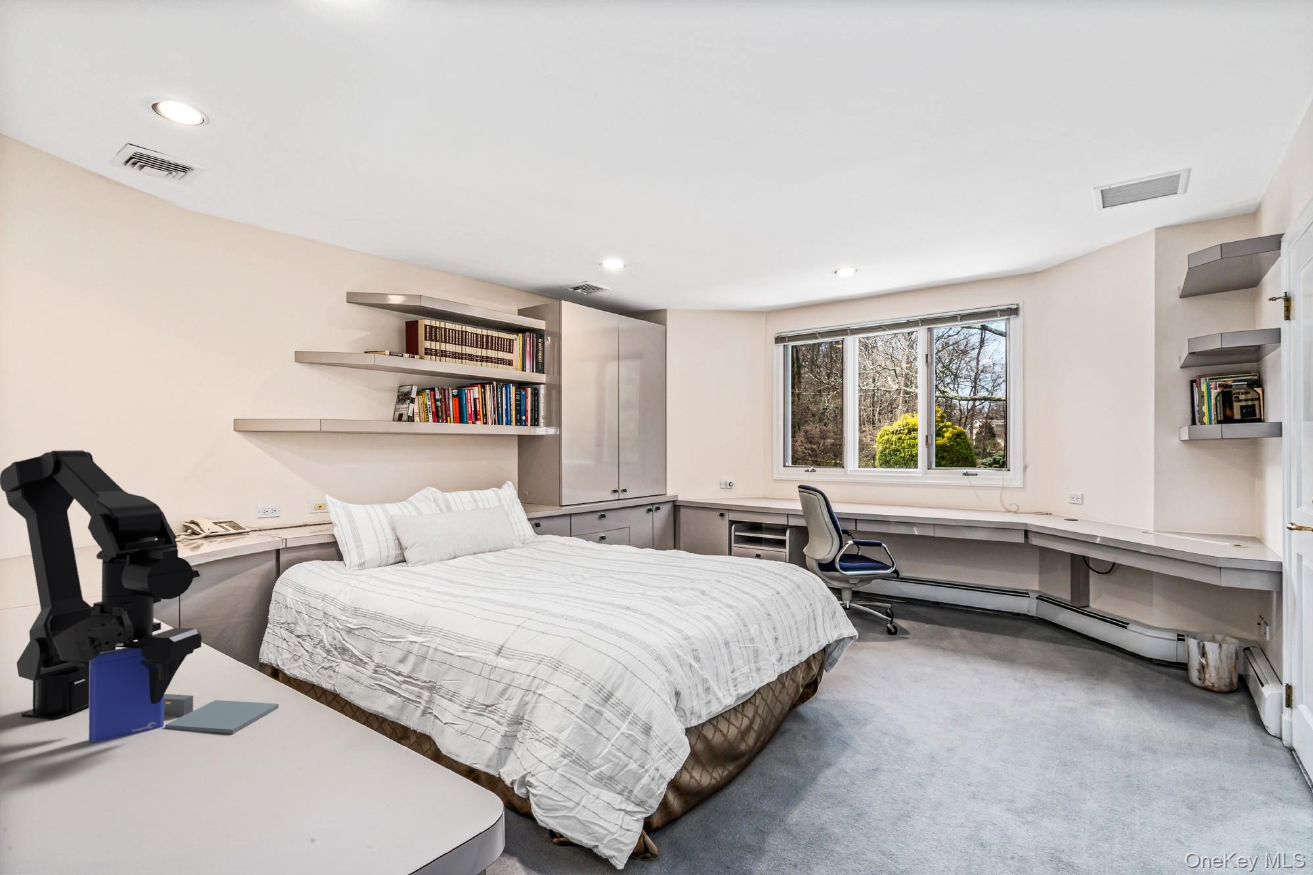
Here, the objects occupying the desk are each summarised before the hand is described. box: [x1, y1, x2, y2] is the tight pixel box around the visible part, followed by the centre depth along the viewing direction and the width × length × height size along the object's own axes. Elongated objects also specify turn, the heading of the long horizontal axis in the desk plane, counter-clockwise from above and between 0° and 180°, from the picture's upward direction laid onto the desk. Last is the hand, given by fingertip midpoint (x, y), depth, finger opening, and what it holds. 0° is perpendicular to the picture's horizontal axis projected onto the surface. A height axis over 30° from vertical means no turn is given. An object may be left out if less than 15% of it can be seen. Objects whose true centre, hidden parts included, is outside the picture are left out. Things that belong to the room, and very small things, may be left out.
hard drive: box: [88, 647, 165, 744], centre depth 90 cm, size 2×8×12 cm, turn 137°
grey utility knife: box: [164, 693, 194, 717], centre depth 98 cm, size 12×2×2 cm, turn 82°
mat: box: [164, 699, 279, 735], centre depth 96 cm, size 11×9×1 cm
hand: (127, 701), depth 90 cm, fingers open, 9 cm apart
